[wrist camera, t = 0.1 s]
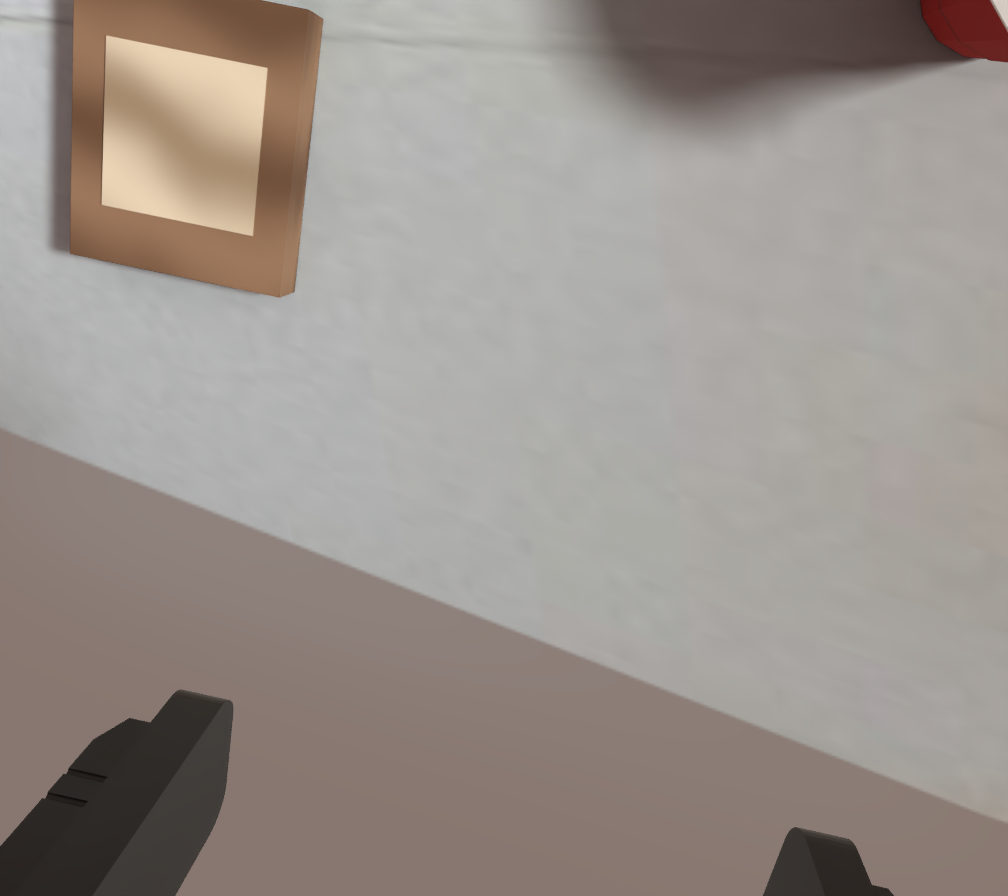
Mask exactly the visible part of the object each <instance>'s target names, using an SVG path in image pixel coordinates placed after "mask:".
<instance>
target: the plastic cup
mask: <svg viewBox="0 0 1008 896" xmlns="http://www.w3.org/2000/svg"><path fill="white" fill-rule="evenodd" d="M920 1H921V9H922V16H923V18H924V20H925V22H926V23H927V25H928V27H929V28H930V30H931V31H932V33H933V35H934V36H935V38H936V39H937V40H938V41H939V42H941V43H943V44H944V45H946V46H947V47H949V48H951V49H952V50H954V51H956V52H957V53H959V54H960V55H962V56H964V57H973V58H983V59H988V60H991V61H1000V62H1008V0H920Z"/></svg>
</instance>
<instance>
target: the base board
mask: <svg viewBox="0 0 1008 896" xmlns="http://www.w3.org/2000/svg"><path fill="white" fill-rule="evenodd" d="M322 26H323V18H321V17H319V16H318V15H316V14H315V13H313V12H311V11H310V10H307V9H302V8H297V7H292V6H287V5H282V4H277V3H272V2H267V1H262V0H74V15H73V83H72V152H71V220H70V254H74V255H79V256H84V257H88V258H93V259H98V260H103V261H108V262H112V263H117V264H122V265H127V266H132V267H136V268H141V269H146V270H151V271H156V272H160V273H165V274H170V275H175V276H179V277H184V278H189V279H194V280H199V281H203V282H208V283H213V284H218V285H223V286H227V287H232V288H237V289H242V290H246V291H251V292H256V293H261V294H266V295H270V296H275V297H282V296H285V295H288V294H290V293H293V292H294V291H295V282H296V272H297V263H298V253H299V244H300V234H301V225H302V215H303V206H304V196H305V187H306V178H307V168H308V159H309V149H310V140H311V130H312V121H313V111H314V102H315V92H316V83H317V74H318V64H319V55H320V45H321V36H322Z"/></svg>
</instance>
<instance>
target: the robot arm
mask: <svg viewBox="0 0 1008 896" xmlns="http://www.w3.org/2000/svg"><path fill="white" fill-rule="evenodd" d="M232 720H233V703H232V702H231V701H230V700H226V699H222V698H217V697H212V696H208V695H203V694H199V693H195V692H190V691H186V690H178V691H177V692H175V693H174V694H173V695H172V696H171V698H170V699H169V700H168V701H167V702H166V704H165V705H164V706H163V707H162V709H161V710H160V711H159V713H158V714H157V715H156V716H155V718H154V719H153V720H152V721H151V723H149V722H145V721H140V720H136V719H131V718H129V719H127V720H125V721H124V722H122V723H120V724H119V725H117V726H115V727H114V728H112V729H110V730H109V731H107V732H105V733H104V734H102V735H101V736H98V737H97V738H95V739H94V740H93V741H92V742H91V743H90V744H89V745H88V747H87V748H86V749H85V750H84V751H83V752H82V754H80V756H79V757H78V758H77V759H76V760H75V761H74V763H73V764H72V765H71V766H70V767H69V769H68V772H67V774H63V775H62V776H61V777H60V779H59V780H58V781H57V782H56V783H55V784H54V785H53V787H52V788H51V789H50V790H49V791H48V794H47V796H46V798H45V799H43V798H42V799H41V800H40V802H39V803H38V804H37V805H36V806H35V807H34V809H33V810H32V811H31V812H30V813H29V814H28V815H27V816H26V818H25V819H24V820H23V821H22V822H21V823H20V825H19V826H18V827H17V828H16V829H15V830H14V831H13V833H12V834H11V835H10V836H9V837H8V838H7V839H6V841H5V842H4V843H3V844H2V845H1V846H0V896H175V895H176V893H177V892H178V890H179V888H180V886H181V884H182V883H183V881H184V879H185V877H186V876H187V874H188V872H189V870H190V869H191V867H192V865H193V863H194V862H195V860H196V858H197V856H198V855H199V853H200V851H201V849H202V847H203V846H204V844H205V842H206V840H207V839H208V837H209V835H210V833H211V831H212V829H213V827H214V825H215V822H216V820H217V818H218V814H219V812H220V809H221V805H222V802H223V799H224V795H225V790H226V782H227V772H228V762H229V752H230V740H231V731H232ZM763 896H894V895H893V894H892V893H891V892H890V890H889V889H887V888H883V887H878V886H874V885H872V884H871V882H870V879H869V877H868V875H867V872H866V870H865V867H864V865H863V863H862V860H861V858H860V855H859V853H858V851H857V848H856V846H855V845H854V843H853V842H852V841H851V840H849V839H846V838H842V837H838V836H833V835H829V834H824V833H820V832H815V831H811V830H806V829H802V828H797V827H795V828H792V829H791V830H790V831H789V833H788V834H787V836H786V838H785V841H784V843H783V846H782V848H781V851H780V853H779V856H778V858H777V861H776V864H775V866H774V869H773V871H772V874H771V876H770V879H769V881H768V884H767V887H766V889H765V892H764V894H763Z"/></svg>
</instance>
